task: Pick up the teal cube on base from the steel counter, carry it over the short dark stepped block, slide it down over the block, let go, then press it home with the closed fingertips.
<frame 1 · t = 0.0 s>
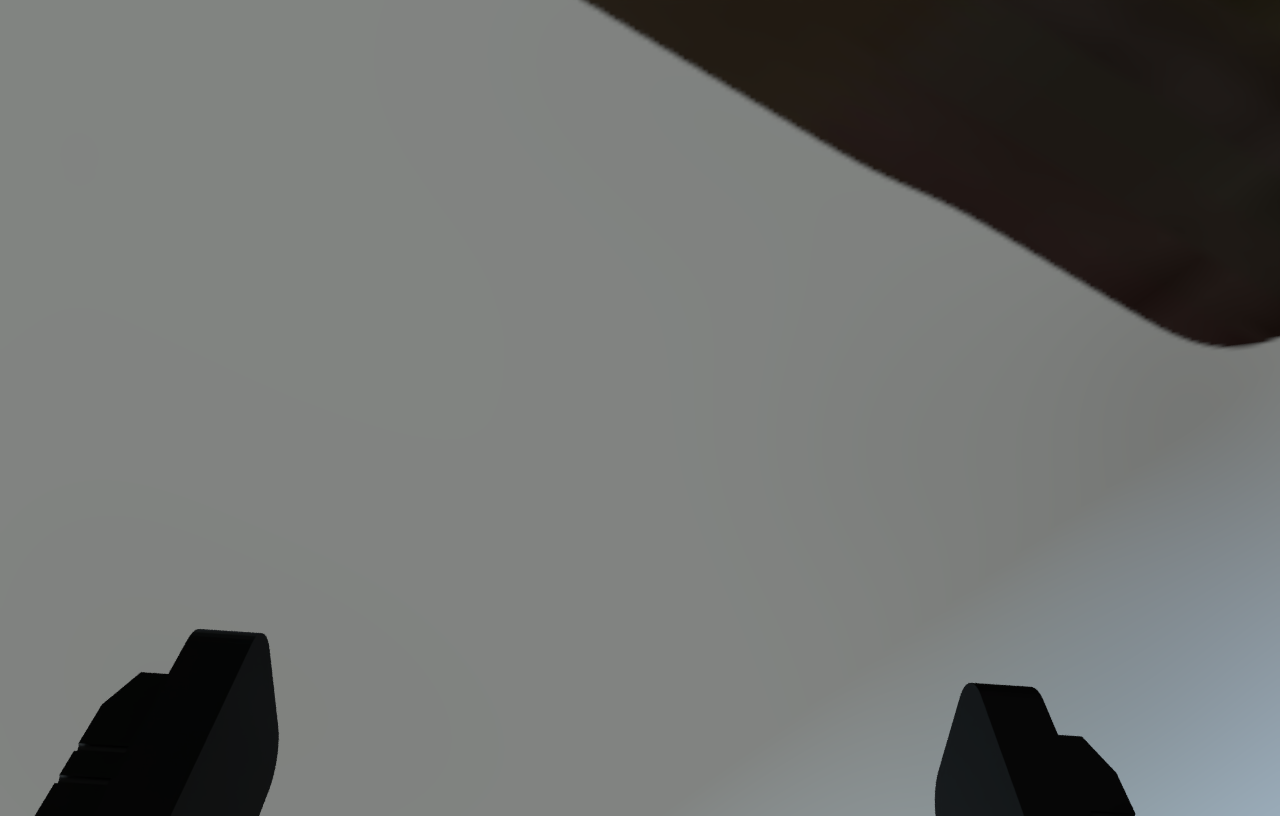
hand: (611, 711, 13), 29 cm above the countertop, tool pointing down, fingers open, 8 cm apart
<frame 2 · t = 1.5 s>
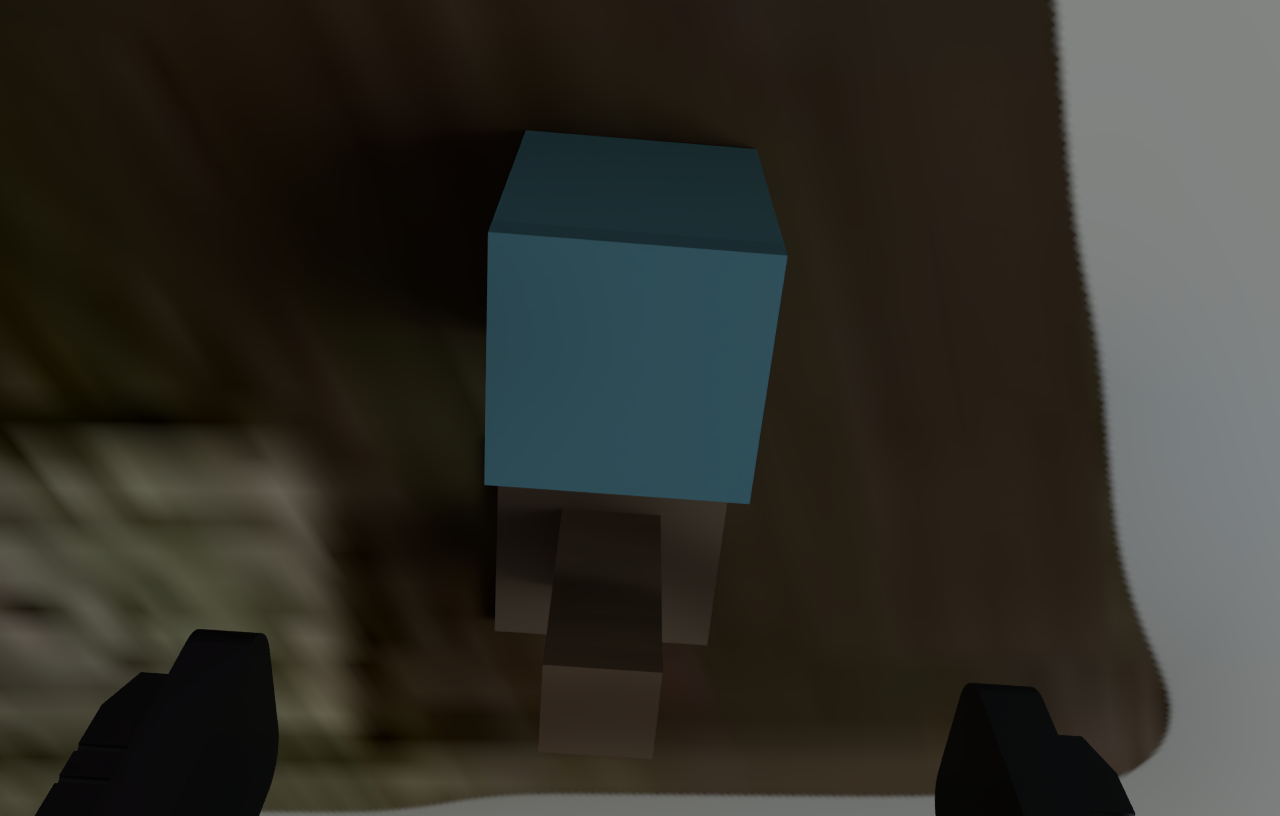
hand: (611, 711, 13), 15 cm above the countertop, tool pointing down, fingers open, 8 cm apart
dark stepped block: (608, 541, 30), on the countertop
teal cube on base: (632, 248, 26), on the countertop
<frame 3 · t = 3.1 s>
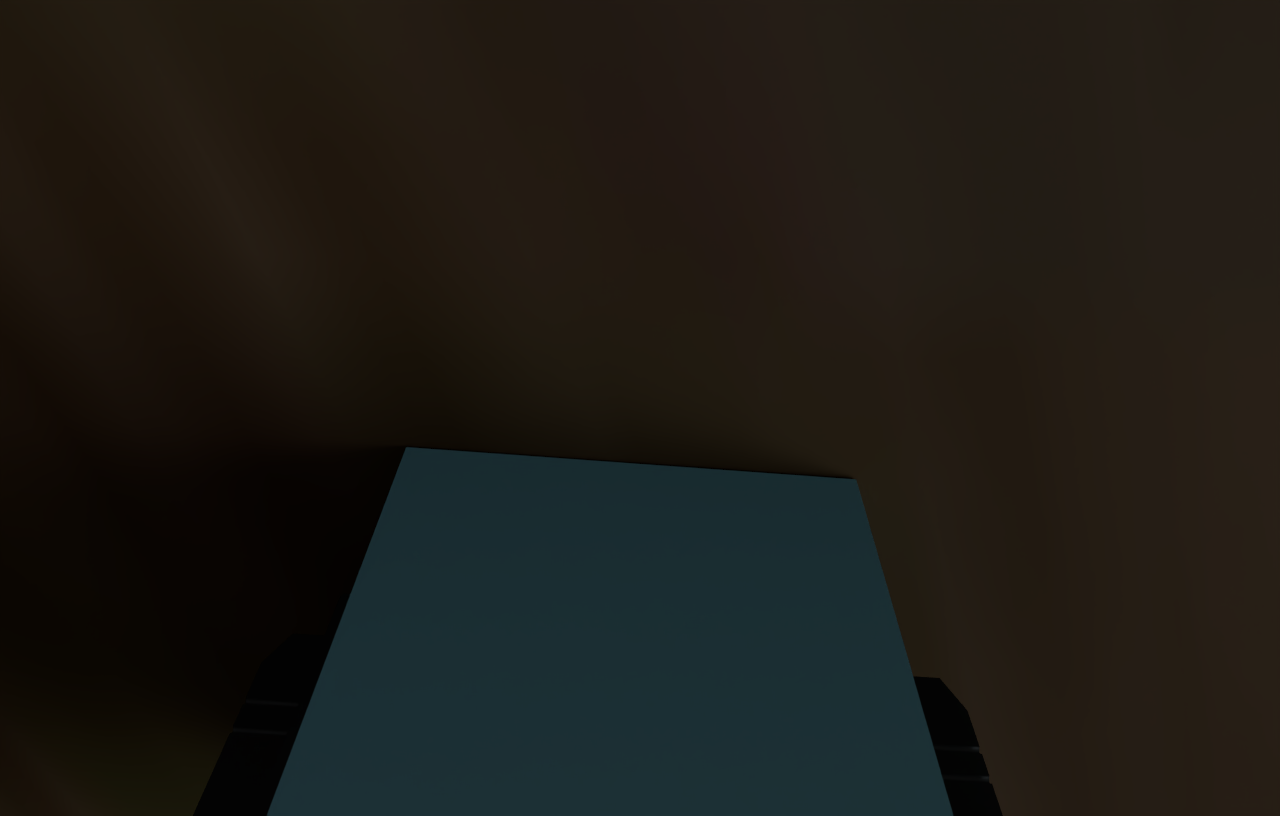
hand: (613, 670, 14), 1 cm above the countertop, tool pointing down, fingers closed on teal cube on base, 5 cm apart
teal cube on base: (617, 637, 14), on the countertop, touching gripper
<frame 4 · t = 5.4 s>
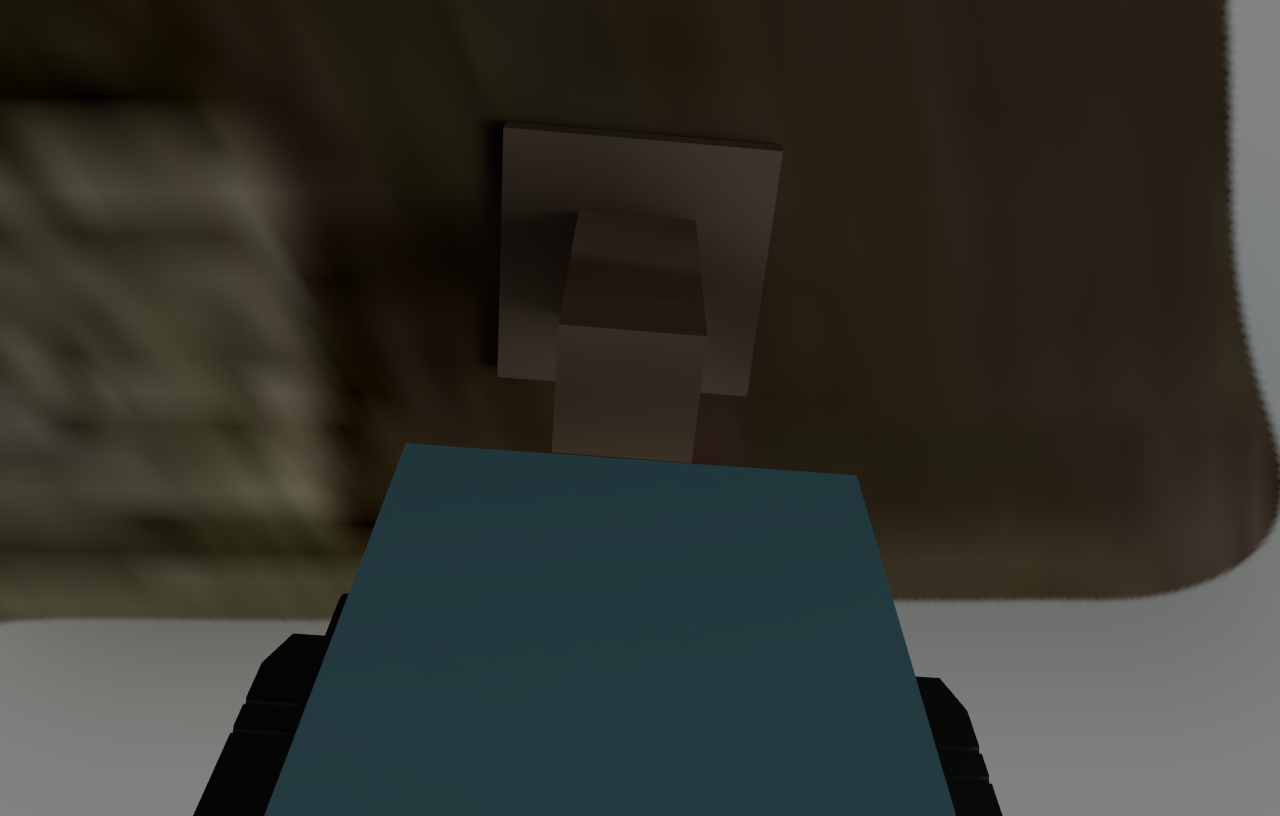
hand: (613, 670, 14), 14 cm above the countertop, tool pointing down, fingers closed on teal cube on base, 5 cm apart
dark stepped block: (632, 261, 26), on the countertop
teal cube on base: (617, 634, 14), point 13 cm above the countertop, touching gripper
when the fingers open (2 cm above the countertop, at t = 7.6 s): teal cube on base drops 1 cm, resting on dark stepped block.
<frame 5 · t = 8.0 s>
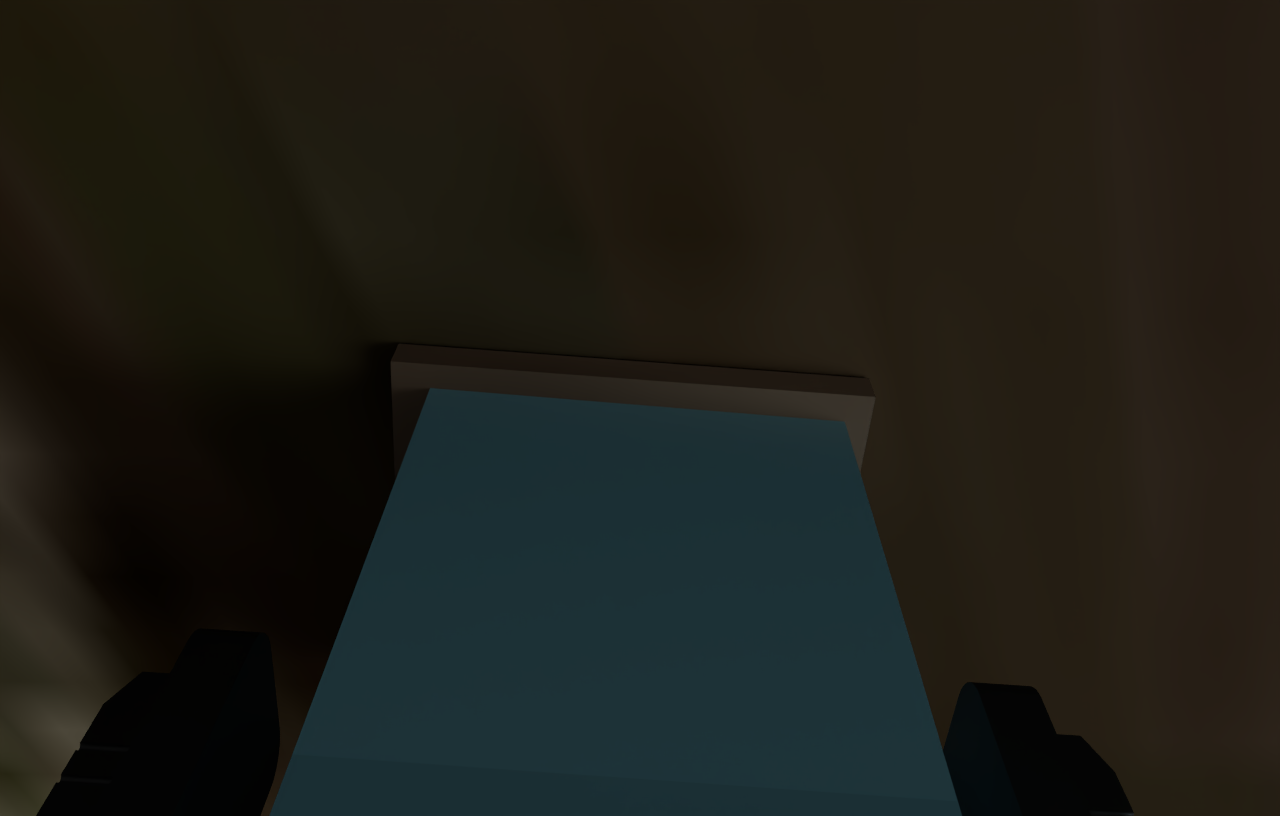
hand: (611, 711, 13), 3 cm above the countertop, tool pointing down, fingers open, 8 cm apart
dark stepped block: (619, 551, 16), on the countertop
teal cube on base: (622, 571, 15), resting on dark stepped block
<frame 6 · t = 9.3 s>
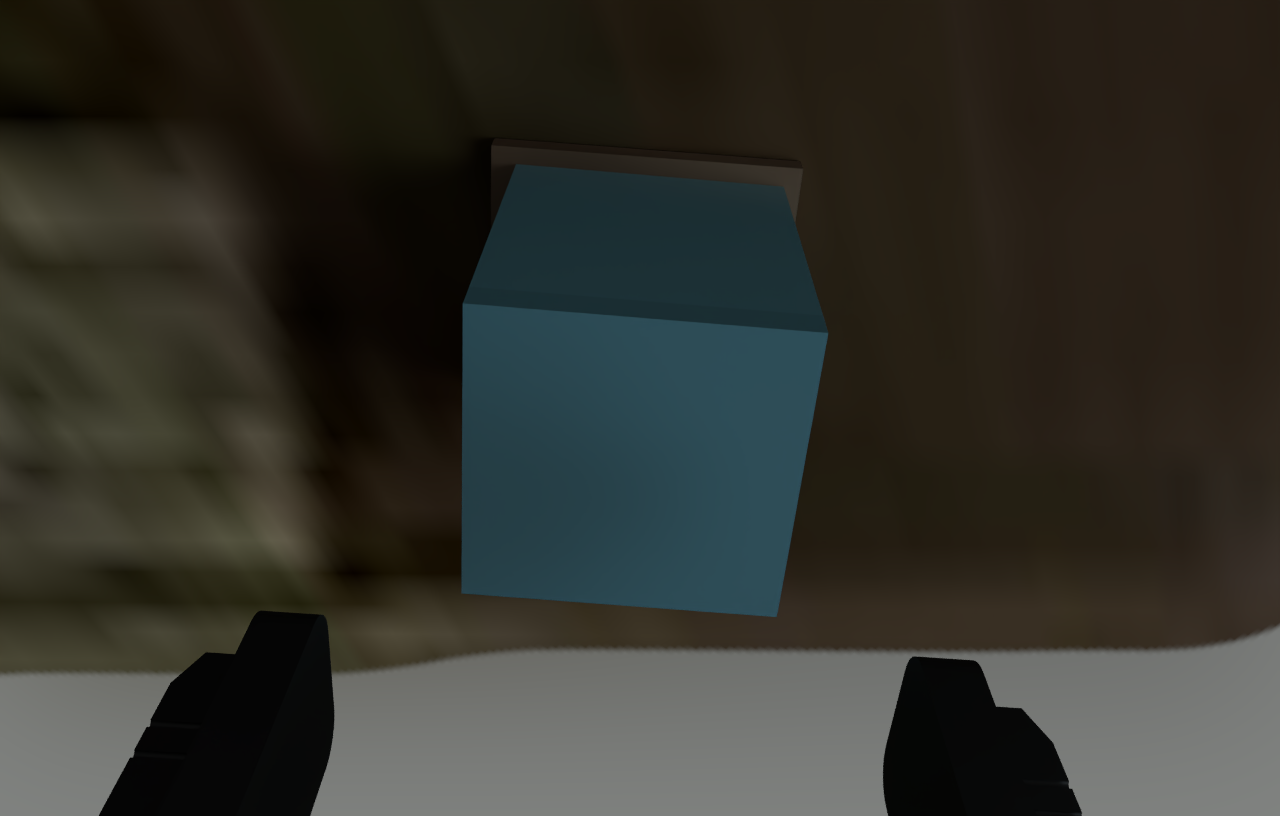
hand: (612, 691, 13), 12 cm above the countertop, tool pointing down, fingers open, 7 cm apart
dark stepped block: (637, 290, 23), on the countertop
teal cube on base: (639, 298, 23), resting on dark stepped block
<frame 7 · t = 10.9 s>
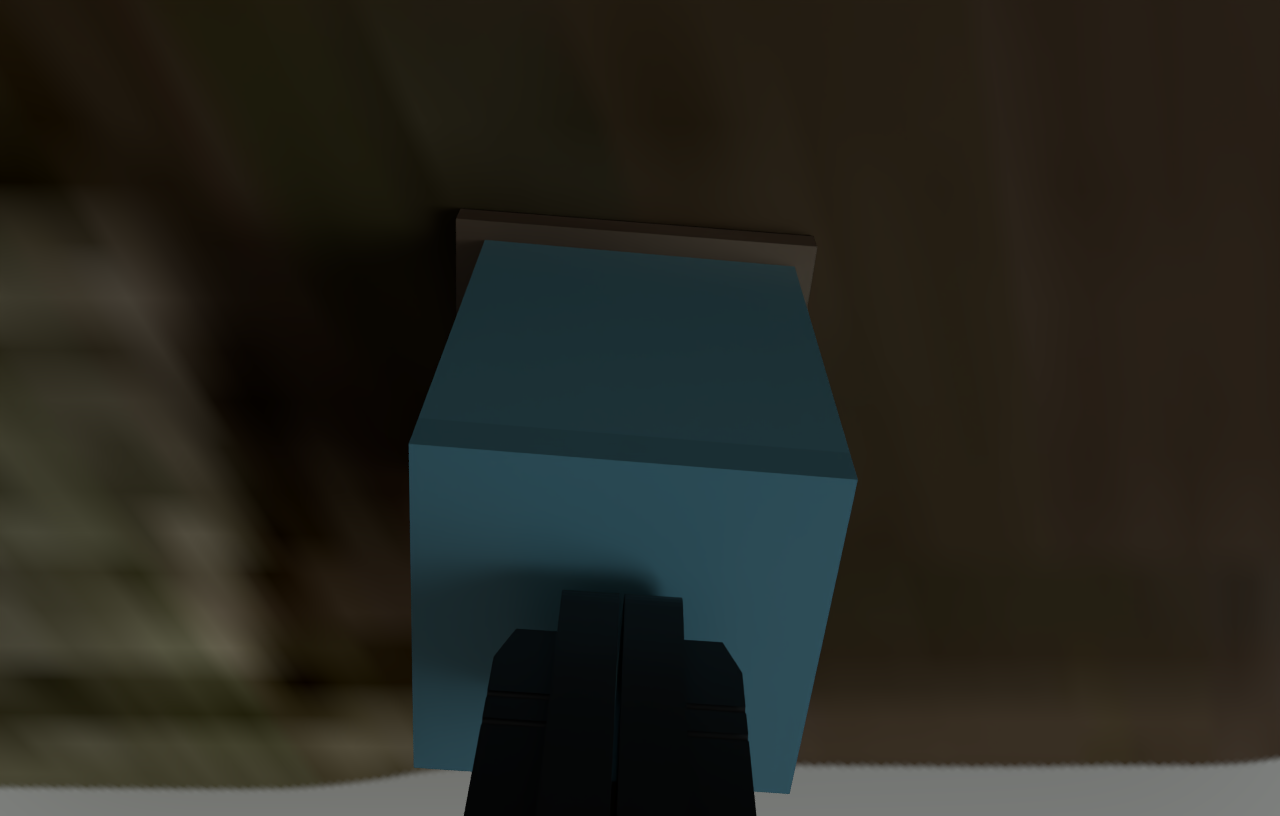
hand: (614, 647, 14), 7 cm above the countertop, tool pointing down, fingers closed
dark stepped block: (625, 378, 20), on the countertop
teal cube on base: (627, 389, 20), resting on dark stepped block
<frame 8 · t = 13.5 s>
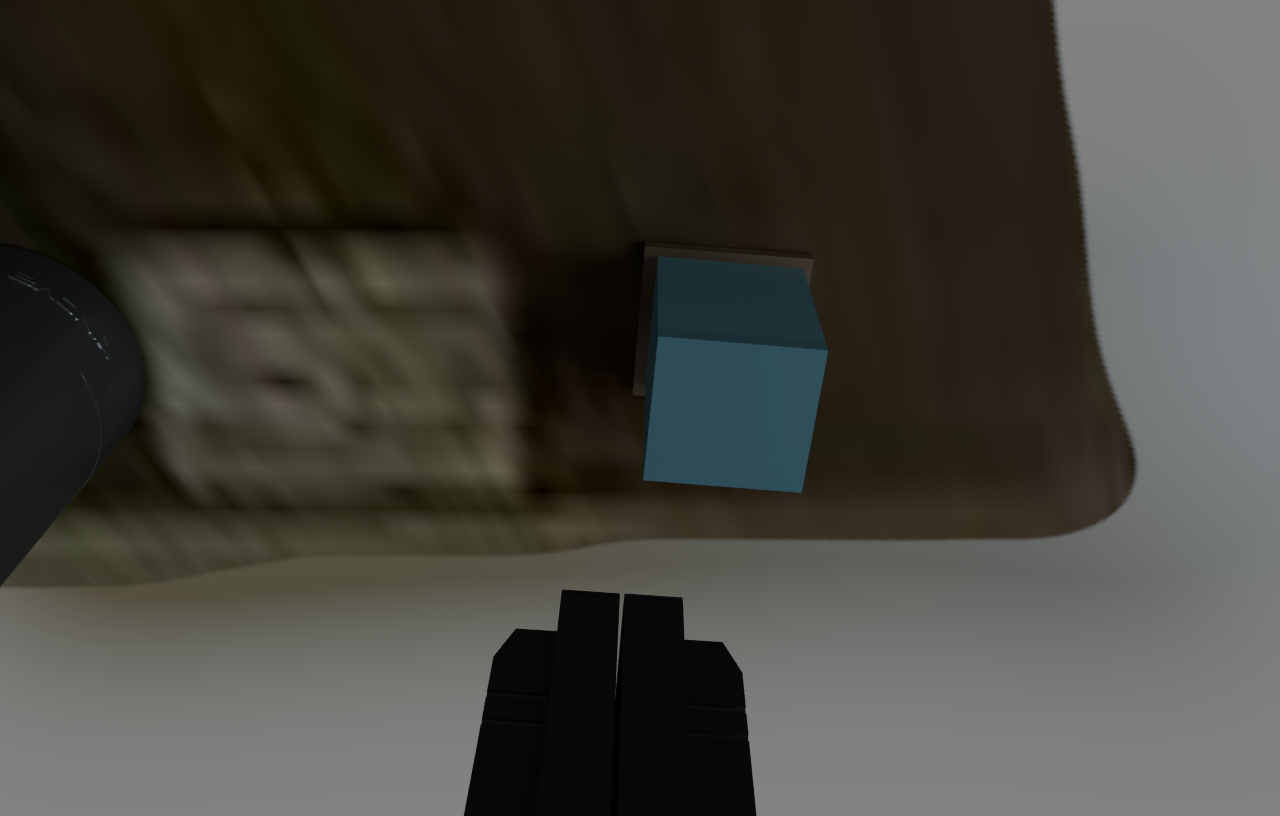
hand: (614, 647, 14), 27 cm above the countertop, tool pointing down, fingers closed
dark stepped block: (719, 323, 41), on the countertop
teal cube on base: (721, 328, 41), resting on dark stepped block
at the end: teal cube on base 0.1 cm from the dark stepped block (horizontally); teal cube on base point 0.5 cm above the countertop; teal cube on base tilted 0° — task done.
